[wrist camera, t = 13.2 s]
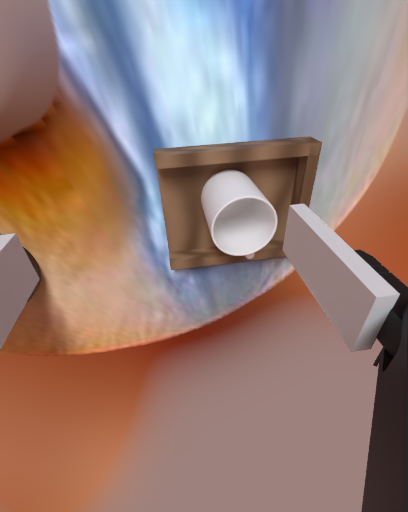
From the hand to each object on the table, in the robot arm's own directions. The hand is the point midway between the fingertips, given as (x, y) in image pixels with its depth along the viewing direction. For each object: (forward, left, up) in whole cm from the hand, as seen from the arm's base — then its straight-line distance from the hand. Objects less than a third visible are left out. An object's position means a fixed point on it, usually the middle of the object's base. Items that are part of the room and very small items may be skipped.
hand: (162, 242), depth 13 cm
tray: (+10, -11, -27) cm, 31 cm away
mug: (+9, -11, -26) cm, 30 cm away
